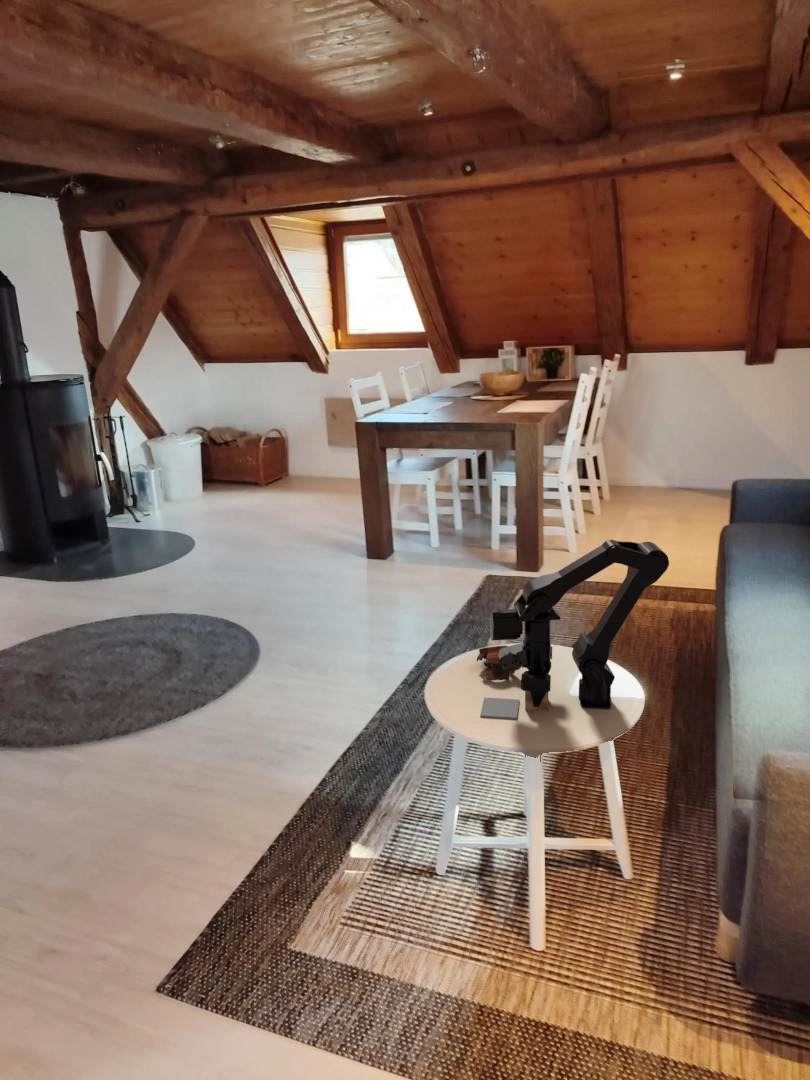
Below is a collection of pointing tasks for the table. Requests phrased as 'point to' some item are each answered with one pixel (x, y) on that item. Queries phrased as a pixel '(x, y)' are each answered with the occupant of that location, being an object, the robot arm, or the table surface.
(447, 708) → the table surface
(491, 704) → the felt coaster
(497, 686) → the table surface
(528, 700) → the walnut block
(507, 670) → the pottery mug
